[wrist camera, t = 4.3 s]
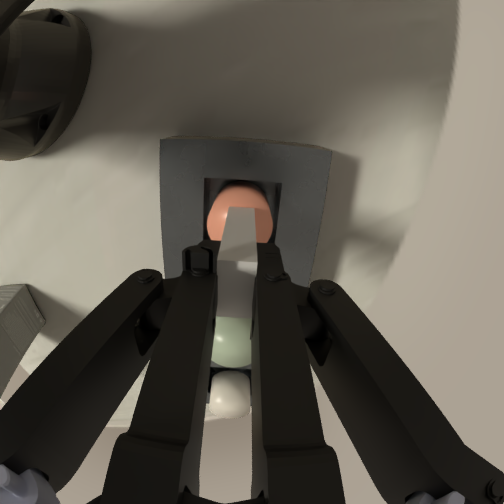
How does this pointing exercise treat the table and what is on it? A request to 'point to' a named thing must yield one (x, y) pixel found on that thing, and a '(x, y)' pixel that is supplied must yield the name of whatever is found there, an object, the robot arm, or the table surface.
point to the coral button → (240, 197)
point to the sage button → (232, 342)
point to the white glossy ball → (230, 394)
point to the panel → (249, 170)
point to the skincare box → (16, 328)
